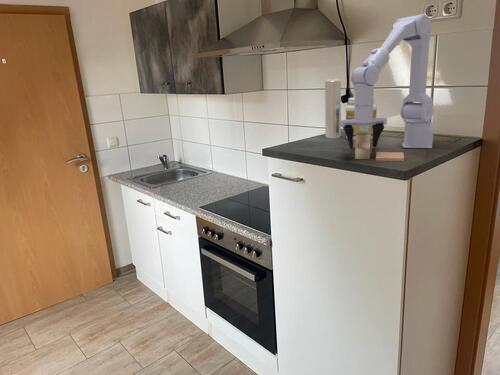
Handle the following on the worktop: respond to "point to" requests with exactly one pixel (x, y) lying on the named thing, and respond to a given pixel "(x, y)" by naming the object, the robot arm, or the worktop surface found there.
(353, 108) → the supplement tub
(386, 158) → the terracotta tile
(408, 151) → the worktop surface
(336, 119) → the air filter
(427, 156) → the worktop surface
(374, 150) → the slot rack
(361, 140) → the birch block
